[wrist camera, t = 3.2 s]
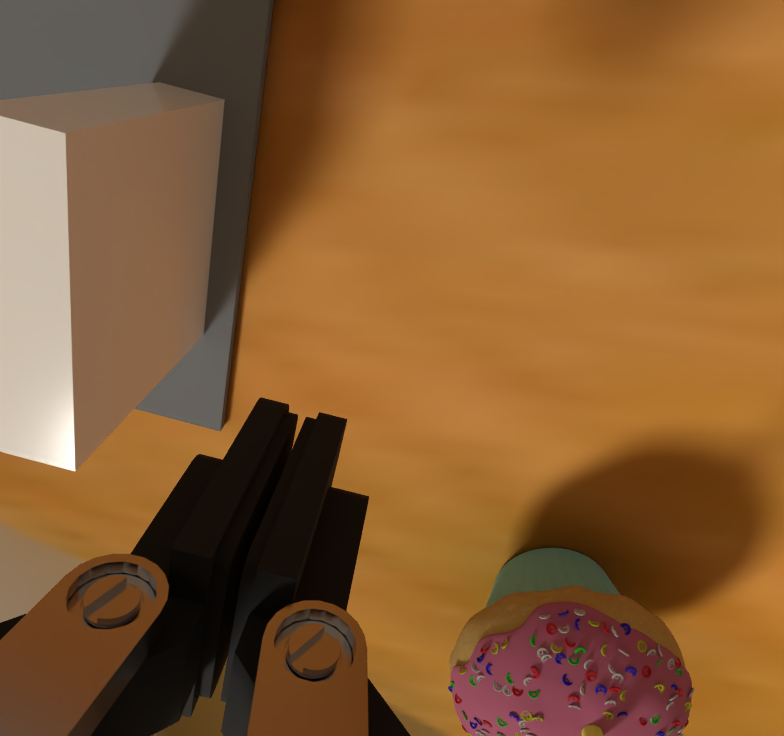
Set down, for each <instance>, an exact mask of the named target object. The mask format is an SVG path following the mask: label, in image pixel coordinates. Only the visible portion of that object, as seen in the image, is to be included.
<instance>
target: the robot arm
mask: <svg viewBox="0 0 784 736" xmlns="http://www.w3.org/2000/svg"><path fill="white" fill-rule="evenodd" d="M297 420H298V415H297V414H293V413H289V404H285V403H281V402H277V401H273V400H269V399H265V398H259V400H258V401H257V403H256V405H255V406H254V408H253V410H252V411H251V413H250V415H249V416H248V418H247V420H246V422H245V423H244V425H243V427H242V428H241V430H240V432H239V433H238V435H237V437H236V438H235V440H234V442H233V444H232V445H231V447H230V449H229V450H228V452H227V454H226V455H225V457H224V459H223V460H221V459H217V458H213V457H209V456H205V455H201V454H199V455H197V456H196V457H195V458H194V459H193V461H192V462H191V464H190V465H189V467H188V468H187V470H186V471H185V473H184V474H183V476H182V477H181V479H180V480H179V482H178V483H177V485H176V486H175V488H174V489H173V491H172V492H171V494H170V495H169V497H168V498H167V500H166V501H165V503H164V504H163V506H162V507H161V509H160V510H159V512H158V513H157V515H156V516H155V518H154V519H153V521H152V522H151V524H150V525H149V527H148V528H147V530H146V531H145V533H144V534H143V536H142V537H141V539H140V540H139V542H138V543H137V545H136V546H135V548H134V549H133V551H132V552H131V554H110V555H105V556H100V557H96V558H93V559H91V560H89V561H87V562H84V563H82V564H80V565H78V566H77V567H76V568H74V569H73V570H72V571H71V572H69V573H68V574H67V575H65V576H64V578H62V579H61V580H60V581H59V583H58V584H56V585H55V586H54V587H53V588H52V589H51V590H50V591H49V592H48V594H46V595H45V596H44V597H43V598H42V599H41V600H40V601H39V602H38V603H37V604H36V605H35V606H34V607H33V608H32V609H31V610H30V611H29V612H28V613H27V614H24V615H21V616H19V617H16V618H13V619H10V620H7V621H4V622H2V623H0V736H155V735H156V733H157V732H159V731H161V730H163V729H165V728H166V727H168V726H170V725H172V724H174V723H176V722H178V721H179V720H180V717H181V715H183V716H187V717H191V715H192V713H193V710H194V708H195V705H196V703H197V700H198V698H199V696H203V697H207V698H211V697H212V695H213V693H214V690H215V688H216V685H217V683H218V680H219V677H220V675H221V672H222V670H223V667H224V665H225V662H226V659H227V657H228V659H227V665H226V671H225V677H224V683H223V689H222V695H221V701H223V702H226V706H225V712H224V718H223V723H222V729H221V732H222V734H223V736H410V734H409V733H408V732H407V730H406V729H405V728H404V726H403V725H402V723H401V722H400V721H399V719H398V718H397V717H396V715H395V714H394V713H393V711H392V710H391V709H390V707H389V706H388V704H387V703H386V702H385V700H384V699H383V698H382V696H381V695H380V694H379V692H378V691H377V690H376V688H375V687H374V686H373V684H372V683H371V681H370V680H369V679H368V674H367V646H366V640H365V635H364V633H363V631H362V629H361V628H360V626H359V624H358V622H357V621H356V620H355V619H354V618H353V617H352V616H351V615H350V614H349V613H348V612H347V611H346V609H347V604H348V599H349V594H350V589H351V585H352V580H353V575H354V570H355V565H356V560H357V555H358V550H359V545H360V540H361V535H362V530H363V525H364V520H365V515H366V510H367V505H368V500H369V496H365V495H361V494H357V493H353V492H349V491H345V490H341V489H337V488H333V487H331V486H332V482H333V478H334V473H335V469H336V465H337V461H338V457H339V452H340V448H341V444H342V440H343V436H344V431H345V427H346V423H347V419H344V418H340V417H336V416H333V415H329V414H325V413H321V412H319V414H318V416H317V419H313V418H309V417H306V418H305V421H304V423H303V425H302V428H301V430H300V432H299V435H298V437H297V439H296V442H295V444H294V446H293V441H294V436H295V431H296V425H297ZM292 446H293V449H292Z"/></svg>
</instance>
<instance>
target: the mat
mask: <svg viewBox="0 0 784 736" xmlns="http://www.w3.org/2000/svg"><path fill="white" fill-rule="evenodd" d="M273 4H274V0H0V100H7V99H16V98H24V97H33V96H42V95H51V94H60V93H69V92H77V91H86V90H95V89H104V88H113V87H122V86H130V85H139V84H148V83H157V82H160V83H164V84H168V85H172V86H176V87H179V88H183V89H187V90H191V91H194V92H198V93H202V94H206V95H209V96H213V97H217V98H221V99H224V100H225V101H224V112H223V124H222V135H221V146H220V157H219V168H218V179H217V191H216V202H215V213H214V224H213V235H212V246H211V258H210V269H209V280H208V291H207V302H206V313H205V325H204V335H203V336H202V337H201V338H200V340H199V341H198V342H197V343H196V344H195V345H194V346H193V347H192V348H191V349H190V350H189V351H188V352H187V353H186V354H185V355H184V357H183V358H182V359H181V360H180V361H179V362H178V363H177V364H176V365H175V366H174V367H173V368H172V369H171V370H170V371H169V372H168V374H167V375H166V376H165V377H164V378H163V379H162V380H161V381H160V382H159V383H158V384H157V385H156V386H155V387H154V388H153V389H152V391H151V392H150V393H149V394H148V395H147V396H146V397H145V398H144V399H143V400H142V401H141V402H140V403H139V404H138V405H137V406H136V408H135V409H138V410H142V411H146V412H149V413H153V414H157V415H161V416H164V417H168V418H172V419H176V420H180V421H183V422H187V423H191V424H195V425H198V426H202V427H206V428H210V429H214V430H217V431H221V429H222V428H223V426H224V421H225V413H226V404H227V396H228V387H229V379H230V370H231V362H232V353H233V345H234V336H235V328H236V319H237V311H238V302H239V294H240V285H241V277H242V268H243V259H244V251H245V242H246V234H247V225H248V217H249V208H250V200H251V191H252V183H253V174H254V166H255V157H256V149H257V140H258V132H259V123H260V115H261V106H262V98H263V89H264V81H265V72H266V64H267V55H268V47H269V38H270V30H271V21H272V12H273Z"/></svg>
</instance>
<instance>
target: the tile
mask: <svg viewBox="0 0 784 736" xmlns="http://www.w3.org/2000/svg"><path fill="white" fill-rule="evenodd" d="M224 101H225V100H224V99H221V98H217V97H213V96H209V95H206V94H202V93H198V92H194V91H191V90H187V89H183V88H179V87H176V86H172V85H168V84H164V83H160V82H157V83H148V84H139V85H130V86H122V87H113V88H104V89H95V90H86V91H77V92H69V93H60V94H51V95H42V96H33V97H24V98H16V99H7V100H0V452H4V453H7V454H11V455H15V456H19V457H23V458H26V459H30V460H34V461H38V462H41V463H45V464H49V465H53V466H57V467H60V468H64V469H68V470H72V471H76V470H77V469H78V468H79V467H80V466H81V465H82V464H83V463H84V462H85V461H86V460H87V459H88V457H89V456H90V455H91V454H92V453H93V452H94V451H95V450H96V449H97V448H98V447H99V446H100V445H101V444H102V443H103V442H104V440H105V439H106V438H107V437H108V436H109V435H110V434H111V433H112V432H113V431H114V430H115V429H116V428H117V427H118V426H119V425H120V423H121V422H122V421H123V420H124V419H125V418H126V417H127V416H128V415H129V414H130V413H131V412H132V411H133V410H134V409H135V408H136V406H137V405H138V404H139V403H140V402H141V401H142V400H143V399H144V398H145V397H146V396H147V395H148V394H149V393H150V392H151V391H152V389H153V388H154V387H155V386H156V385H157V384H158V383H159V382H160V381H161V380H162V379H163V378H164V377H165V376H166V375H167V374H168V372H169V371H170V370H171V369H172V368H173V367H174V366H175V365H176V364H177V363H178V362H179V361H180V360H181V359H182V358H183V357H184V355H185V354H186V353H187V352H188V351H189V350H190V349H191V348H192V347H193V346H194V345H195V344H196V343H197V342H198V341H199V340H200V338H201V337H202V336H203V335H204V325H205V313H206V302H207V291H208V280H209V269H210V258H211V246H212V235H213V224H214V213H215V202H216V191H217V179H218V168H219V157H220V146H221V135H222V124H223V112H224Z"/></svg>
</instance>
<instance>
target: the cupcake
mask: <svg viewBox="0 0 784 736" xmlns="http://www.w3.org/2000/svg"><path fill="white" fill-rule="evenodd" d="M449 665H450V675H451V683H450V684H451V686H449V687H448V689H449V690H450V691H451V692H452V695H453V699H454V705H455V709H456V712H457V715H458V717H459V719H460V721H461V723H462V727H463V729H464V730H465V731H466V732H467V733H468V736H683V734H680V733H681V732H682V730H683V729H684V728H685V727H686V726H687V724H688V717H689V712H690V708H691V706H692V705H691V697H692V694H693V691H694V688H692V683H691V678H690V675H689V673H688V672H687V670H686V669H685V664H684V660H683V656H682V653H681V651H680V648H679V646H678V644H677V642H676V640H675V638H674V636H673V635H672V633H671V631H670V630H669V629H668V627H667V626H666V625H665V623H664V622H663V621H662V620H661V619H660V618H658V617H657V616H655V615H654V614H652V613H650V612H649V611H647V610H646V609H645V608H643V607H642V606H641V605H640V604H638V603H637V602H636V601H635V600H633V599H631V598H629V597H626V596H623V595H620V593H619V592H618V591H617V589H616V588H615V586H614V585H613V584H612V582H611V581H610V579H609V578H608V576H607V575H606V573H605V572H604V570H603V569H602V568H601V567H600V566H599V565H598V564H597V563H596V562H595V561H593V560H592V559H591V558H589V557H587V556H585V555H583V554H581V553H579V552H576V551H572V550H568V549H563V548H540V549H535V550H531V551H527V552H525V553H522V554H520V555H518V556H516V557H514V558H513V559H511V560H510V561H509V562H508V563H507V564H506V565H505V566H504V567H503V568H502V569H501V571H500V572H499V574H498V576H497V578H496V581H495V584H494V587H493V590H492V593H491V596H490V598H489V601H488V603H487V605H486V608H485V609H483V610H481V611H480V612H478V613H477V614H475V615H474V616H473V617H471V618H470V620H469V621H468V622H467V623H466V625H465V626H464V628H463V630H462V632H461V634H460V636H459V638H458V640H457V643H456V646H455V648H454V650H453V651H452V653H451V656H450V663H449Z"/></svg>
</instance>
